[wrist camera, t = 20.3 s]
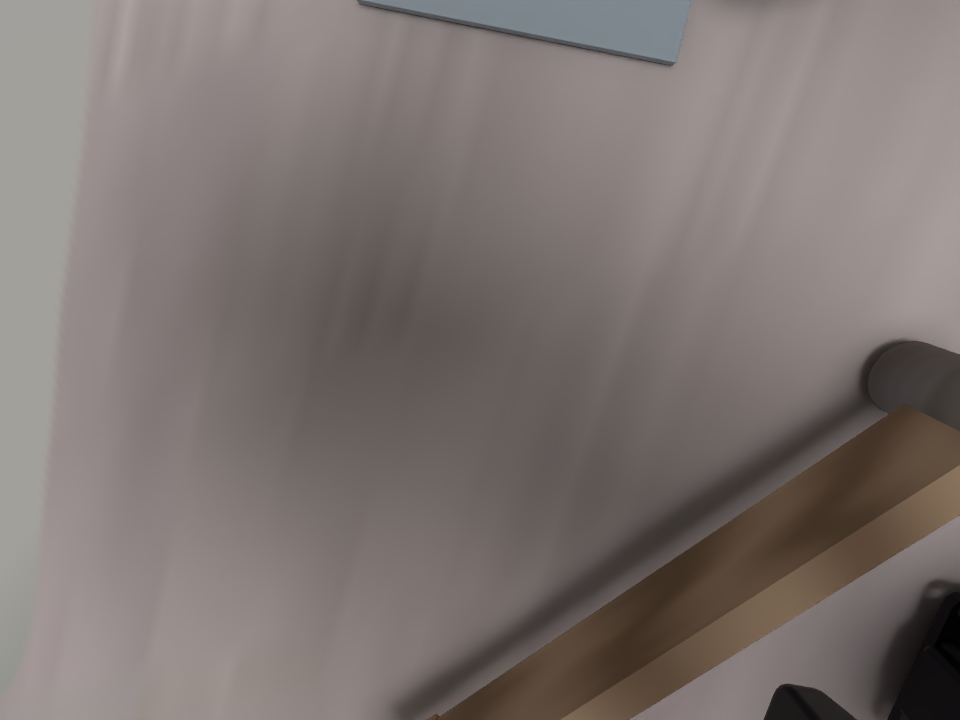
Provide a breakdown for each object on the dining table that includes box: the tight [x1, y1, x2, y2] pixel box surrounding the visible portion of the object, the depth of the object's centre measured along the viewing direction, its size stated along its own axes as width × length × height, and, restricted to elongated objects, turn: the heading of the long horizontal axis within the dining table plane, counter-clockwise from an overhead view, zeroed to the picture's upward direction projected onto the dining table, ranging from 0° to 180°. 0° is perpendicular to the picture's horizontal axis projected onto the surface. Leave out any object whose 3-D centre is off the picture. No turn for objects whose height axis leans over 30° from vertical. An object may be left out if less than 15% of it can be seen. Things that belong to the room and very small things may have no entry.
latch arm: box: [428, 341, 960, 720], centre depth 18 cm, size 23×2×5 cm, turn 130°
